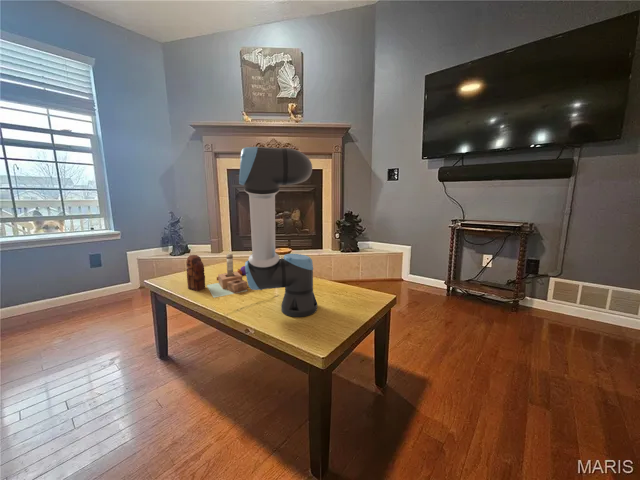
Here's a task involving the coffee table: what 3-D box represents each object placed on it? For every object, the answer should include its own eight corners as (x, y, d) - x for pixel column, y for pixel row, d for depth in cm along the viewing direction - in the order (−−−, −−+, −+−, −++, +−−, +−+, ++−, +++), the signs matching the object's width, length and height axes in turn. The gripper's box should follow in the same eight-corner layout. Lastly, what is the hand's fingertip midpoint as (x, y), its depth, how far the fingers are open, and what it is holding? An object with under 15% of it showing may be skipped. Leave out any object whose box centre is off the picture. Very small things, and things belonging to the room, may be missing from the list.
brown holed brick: (247, 289, 129) (246, 281, 129) (234, 293, 124) (233, 285, 124) (240, 286, 134) (239, 278, 133) (227, 289, 129) (226, 282, 128)
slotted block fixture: (248, 292, 128) (247, 281, 127) (213, 299, 119) (212, 287, 118) (237, 281, 144) (236, 271, 143) (206, 286, 136) (205, 275, 135)
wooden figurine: (184, 289, 133) (180, 255, 130) (196, 285, 138) (192, 252, 135) (197, 294, 126) (193, 258, 123) (208, 290, 131) (206, 255, 128)
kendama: (214, 274, 144) (245, 264, 159) (217, 284, 145) (247, 274, 159) (219, 274, 140) (250, 264, 154) (221, 285, 141) (253, 274, 155)
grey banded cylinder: (234, 284, 136) (233, 254, 134) (228, 285, 134) (227, 255, 132) (232, 283, 139) (231, 253, 137) (226, 284, 137) (225, 254, 135)
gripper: (276, 194, 123) (277, 237, 127) (258, 194, 144) (260, 231, 148) (261, 194, 119) (262, 239, 123) (245, 194, 140) (247, 232, 144)
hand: (261, 235), depth 135 cm, fingers open, 13 cm apart
